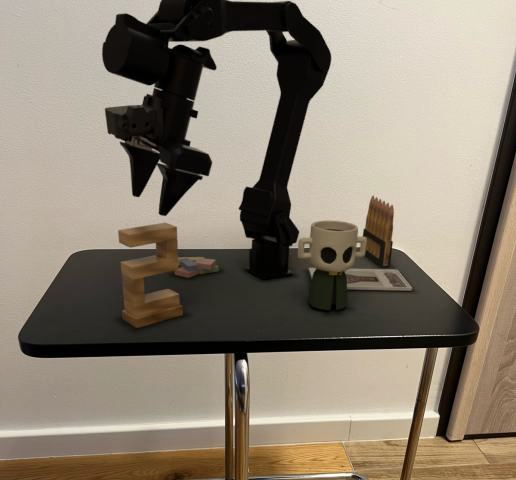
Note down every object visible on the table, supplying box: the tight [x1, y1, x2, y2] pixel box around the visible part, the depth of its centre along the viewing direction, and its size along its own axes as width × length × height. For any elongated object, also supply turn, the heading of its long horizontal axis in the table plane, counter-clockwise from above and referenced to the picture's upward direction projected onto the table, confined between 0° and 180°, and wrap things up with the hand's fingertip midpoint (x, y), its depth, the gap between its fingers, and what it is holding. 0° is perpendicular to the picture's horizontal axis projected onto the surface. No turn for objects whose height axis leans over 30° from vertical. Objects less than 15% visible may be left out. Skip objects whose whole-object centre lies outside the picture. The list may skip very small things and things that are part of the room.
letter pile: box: [174, 256, 220, 279], centre depth 100 cm, size 8×6×2 cm
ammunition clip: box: [362, 195, 395, 268], centre depth 108 cm, size 11×2×12 cm, turn 13°
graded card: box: [308, 267, 413, 292], centre depth 98 cm, size 10×1×17 cm
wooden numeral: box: [117, 222, 184, 329], centre depth 78 cm, size 8×4×13 cm, turn 132°
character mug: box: [297, 219, 367, 311], centre depth 84 cm, size 11×7×13 cm, turn 101°
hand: (148, 205), depth 80 cm, fingers open, 9 cm apart
